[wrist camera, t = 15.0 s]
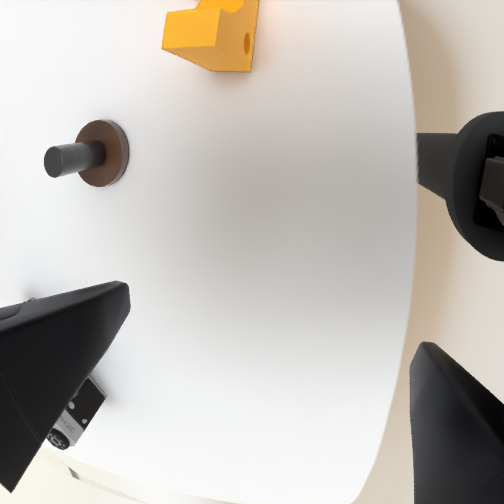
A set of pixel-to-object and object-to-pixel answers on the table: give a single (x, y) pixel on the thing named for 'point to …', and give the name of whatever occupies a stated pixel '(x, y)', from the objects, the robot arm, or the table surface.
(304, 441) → the table surface
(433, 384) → the robot arm
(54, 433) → the camera
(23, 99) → the table surface
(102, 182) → the stake
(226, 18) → the pipe clamp
